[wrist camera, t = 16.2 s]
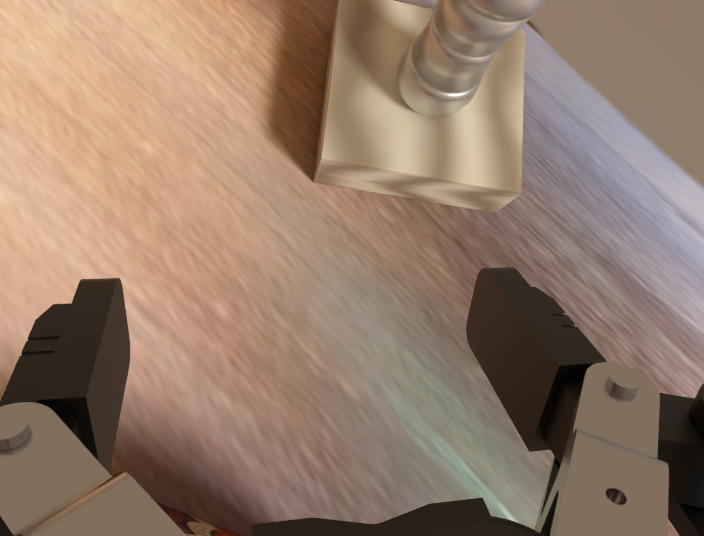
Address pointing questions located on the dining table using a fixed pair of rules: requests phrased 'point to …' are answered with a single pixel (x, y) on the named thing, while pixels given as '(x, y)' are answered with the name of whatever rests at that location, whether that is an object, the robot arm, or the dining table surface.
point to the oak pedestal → (416, 117)
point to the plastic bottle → (457, 52)
